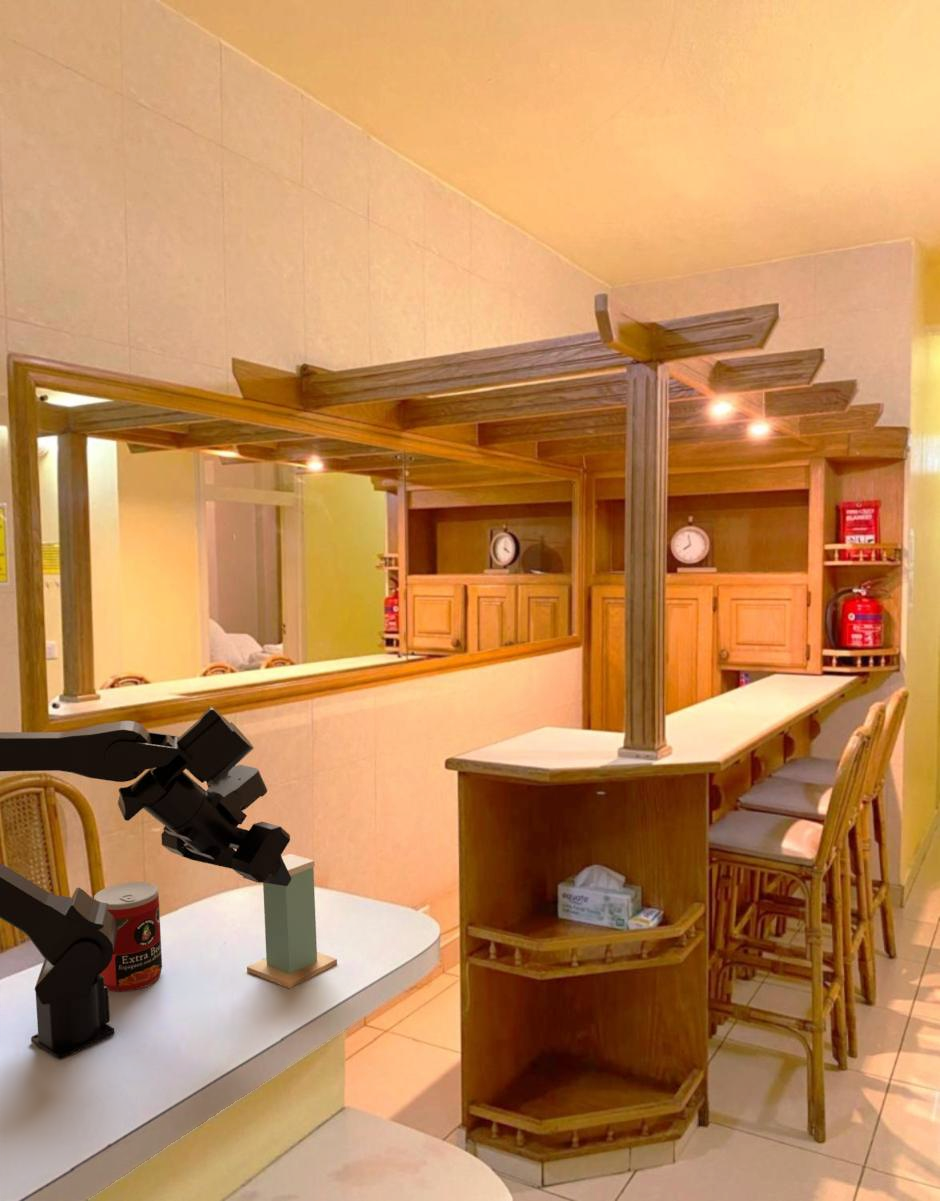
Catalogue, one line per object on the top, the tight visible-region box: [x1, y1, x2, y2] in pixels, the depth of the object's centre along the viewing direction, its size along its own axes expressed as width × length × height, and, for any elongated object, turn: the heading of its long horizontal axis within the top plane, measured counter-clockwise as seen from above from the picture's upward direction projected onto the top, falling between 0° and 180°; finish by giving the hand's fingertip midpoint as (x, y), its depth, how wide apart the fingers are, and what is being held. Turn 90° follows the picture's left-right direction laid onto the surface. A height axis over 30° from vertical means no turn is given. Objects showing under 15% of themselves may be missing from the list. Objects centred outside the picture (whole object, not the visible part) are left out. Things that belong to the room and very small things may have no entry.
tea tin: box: [262, 853, 318, 974], centre depth 117 cm, size 5×5×13 cm
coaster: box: [246, 951, 338, 989], centre depth 117 cm, size 8×8×1 cm
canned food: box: [93, 881, 163, 992], centre depth 115 cm, size 8×8×11 cm
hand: (264, 874), depth 114 cm, fingers open, 9 cm apart
